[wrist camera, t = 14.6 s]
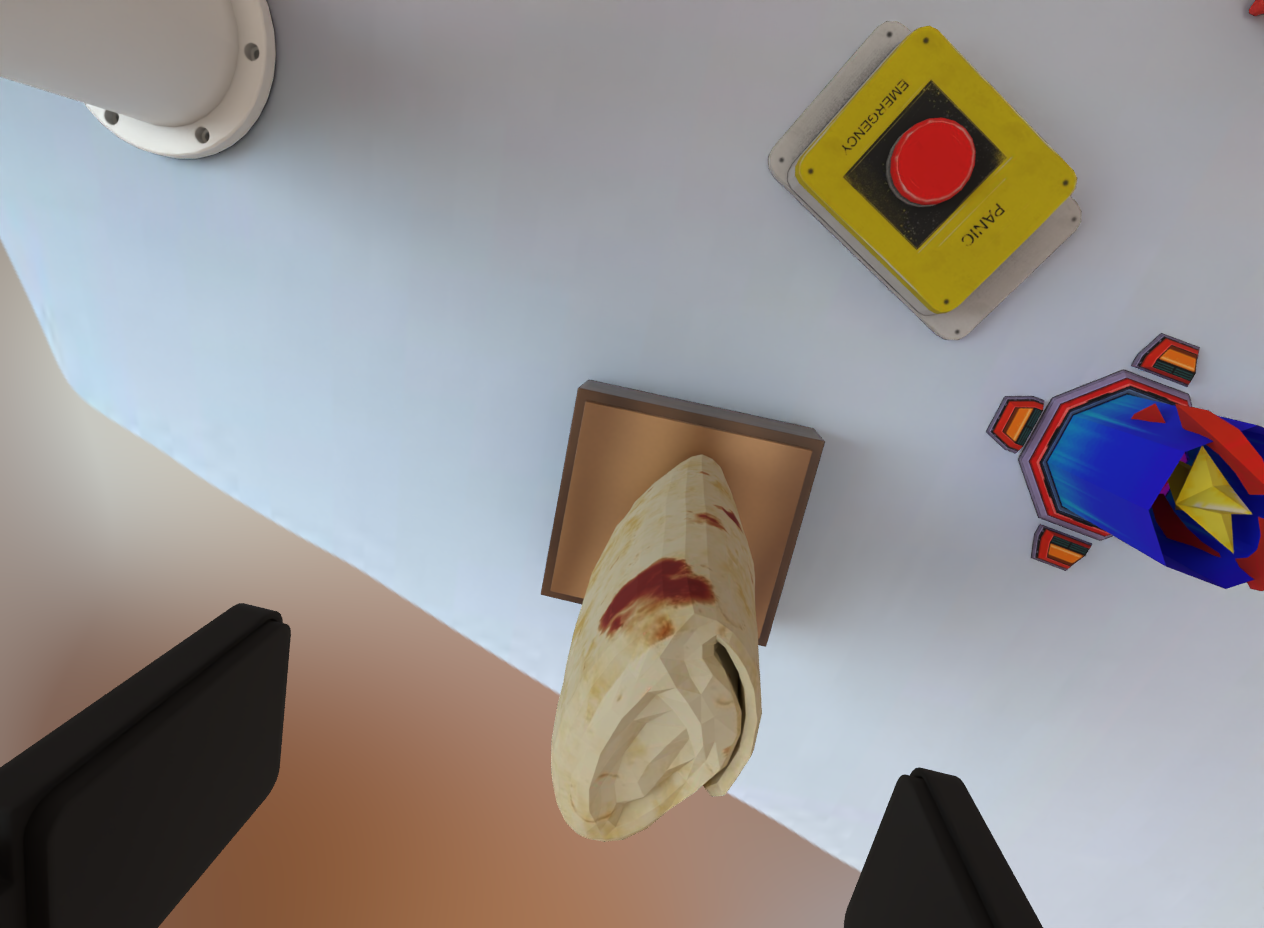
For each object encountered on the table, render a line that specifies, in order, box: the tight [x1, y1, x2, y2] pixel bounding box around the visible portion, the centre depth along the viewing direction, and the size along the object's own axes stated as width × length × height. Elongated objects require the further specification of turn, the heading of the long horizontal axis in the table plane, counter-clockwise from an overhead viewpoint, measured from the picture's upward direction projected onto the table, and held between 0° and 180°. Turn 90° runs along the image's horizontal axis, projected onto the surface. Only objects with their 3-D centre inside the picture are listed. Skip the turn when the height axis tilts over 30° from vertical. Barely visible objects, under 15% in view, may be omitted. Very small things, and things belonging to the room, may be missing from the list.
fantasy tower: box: [986, 333, 1264, 591], centre depth 33 cm, size 12×12×12 cm
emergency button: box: [768, 21, 1082, 340], centre depth 34 cm, size 9×4×15 cm
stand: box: [541, 380, 825, 647], centre depth 40 cm, size 14×13×4 cm
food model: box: [551, 454, 762, 842], centre depth 28 cm, size 10×7×20 cm
